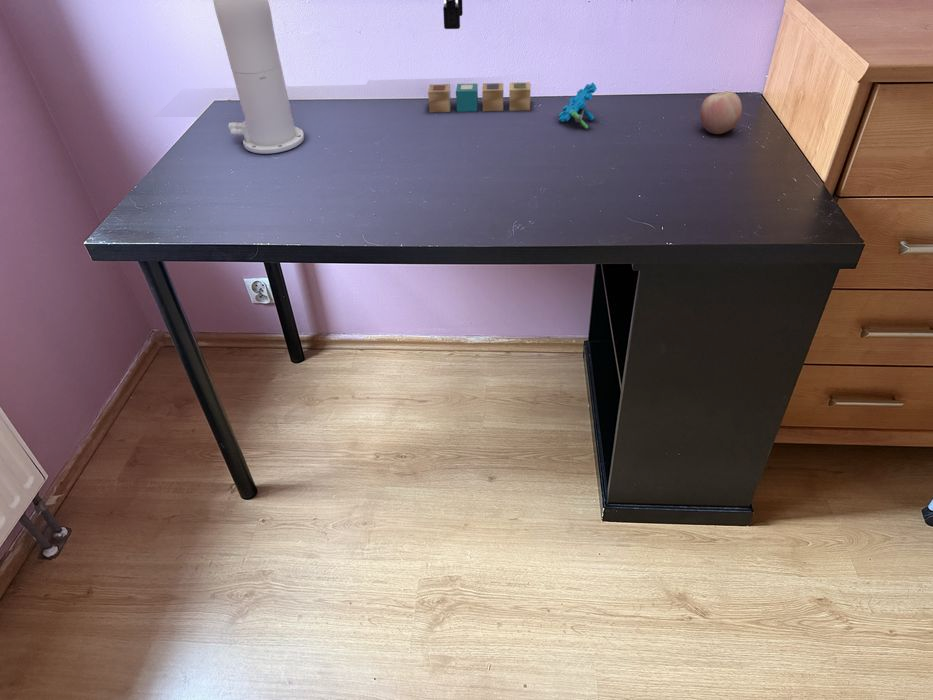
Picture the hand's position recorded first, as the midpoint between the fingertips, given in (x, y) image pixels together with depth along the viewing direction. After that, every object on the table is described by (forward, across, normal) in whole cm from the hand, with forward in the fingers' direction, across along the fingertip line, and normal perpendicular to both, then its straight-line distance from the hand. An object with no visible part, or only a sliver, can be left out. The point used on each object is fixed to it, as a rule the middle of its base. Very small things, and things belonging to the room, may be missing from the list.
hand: (453, 21), depth 137 cm
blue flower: (+18, +7, +26) cm, 33 cm away
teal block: (+18, -2, +2) cm, 19 cm away
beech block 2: (+18, -2, +8) cm, 20 cm away
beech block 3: (+18, -2, +14) cm, 23 cm away
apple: (+18, +14, +54) cm, 59 cm away
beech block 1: (+19, -2, -4) cm, 19 cm away
